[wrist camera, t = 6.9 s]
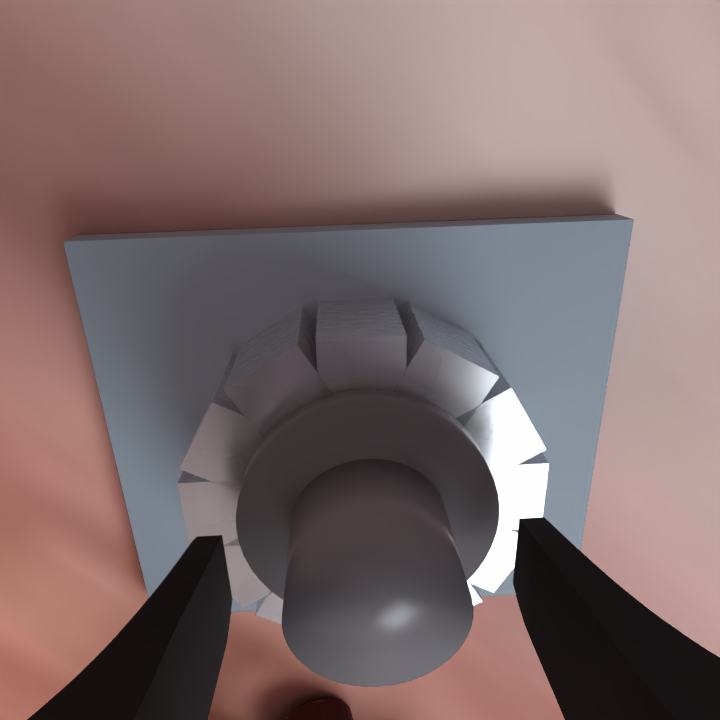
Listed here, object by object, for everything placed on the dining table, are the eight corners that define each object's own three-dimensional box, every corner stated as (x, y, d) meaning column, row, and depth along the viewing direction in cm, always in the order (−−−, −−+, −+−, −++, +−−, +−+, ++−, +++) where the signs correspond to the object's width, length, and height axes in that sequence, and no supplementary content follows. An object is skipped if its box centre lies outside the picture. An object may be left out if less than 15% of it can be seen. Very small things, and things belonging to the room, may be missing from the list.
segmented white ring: (523, 291, 16) (565, 328, 13) (500, 554, 20) (528, 627, 17) (183, 306, 16) (151, 346, 13) (226, 570, 20) (209, 647, 17)
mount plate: (616, 214, 17) (633, 219, 16) (563, 571, 22) (573, 590, 21) (77, 234, 16) (62, 241, 15) (160, 595, 22) (153, 616, 21)
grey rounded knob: (473, 343, 17) (562, 479, 10) (457, 523, 19) (520, 721, 13) (247, 347, 16) (193, 489, 10) (262, 529, 19) (228, 735, 13)
